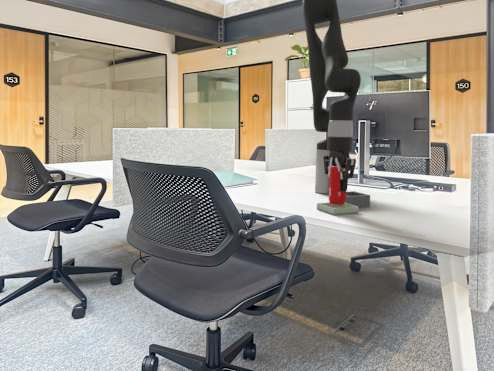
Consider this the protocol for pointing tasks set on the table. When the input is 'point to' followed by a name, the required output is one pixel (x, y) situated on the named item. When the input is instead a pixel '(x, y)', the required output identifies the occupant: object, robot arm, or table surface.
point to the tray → (337, 208)
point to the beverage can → (336, 187)
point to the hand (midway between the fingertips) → (337, 189)
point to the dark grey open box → (358, 199)
